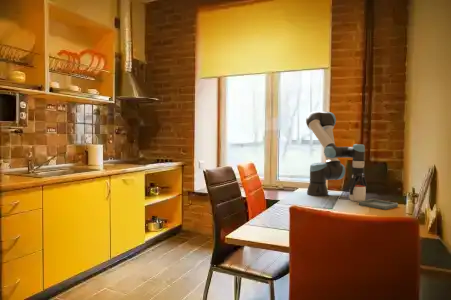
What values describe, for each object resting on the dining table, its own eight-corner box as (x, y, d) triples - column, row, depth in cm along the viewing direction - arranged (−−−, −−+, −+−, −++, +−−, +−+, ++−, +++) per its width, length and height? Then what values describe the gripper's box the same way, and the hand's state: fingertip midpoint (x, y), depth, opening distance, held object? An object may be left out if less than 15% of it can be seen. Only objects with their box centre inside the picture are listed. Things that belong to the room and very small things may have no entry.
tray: (358, 205, 208) (358, 201, 208) (372, 202, 218) (372, 198, 218) (384, 210, 195) (385, 206, 195) (397, 206, 205) (398, 203, 205)
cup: (366, 202, 217) (367, 187, 216) (350, 201, 219) (351, 186, 218) (363, 199, 227) (364, 185, 226) (348, 198, 229) (348, 184, 228)
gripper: (353, 168, 211) (352, 201, 212) (373, 166, 227) (372, 197, 227) (342, 167, 217) (342, 199, 218) (362, 165, 232) (361, 195, 233)
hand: (357, 198), depth 223 cm, fingers open, 13 cm apart
